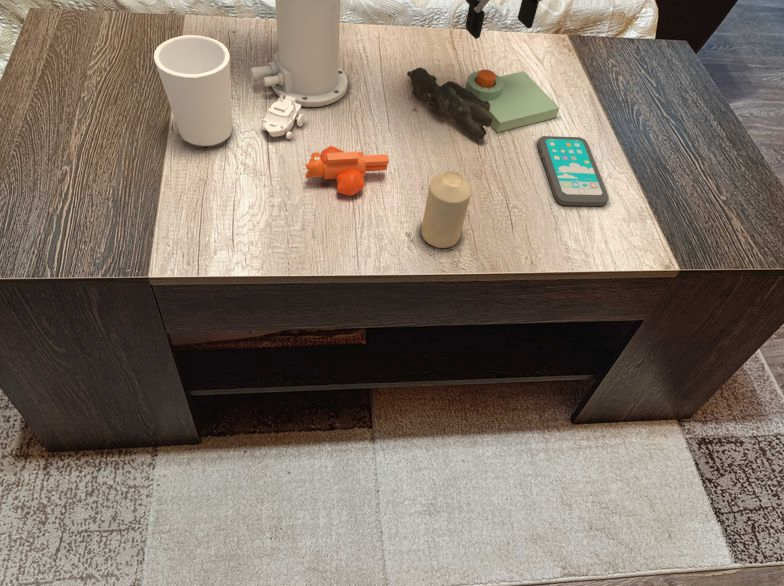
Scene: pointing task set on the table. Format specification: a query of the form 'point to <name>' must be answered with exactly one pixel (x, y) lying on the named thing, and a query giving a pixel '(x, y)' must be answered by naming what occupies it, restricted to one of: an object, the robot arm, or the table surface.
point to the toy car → (283, 117)
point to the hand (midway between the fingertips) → (498, 28)
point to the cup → (197, 87)
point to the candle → (445, 209)
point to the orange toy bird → (345, 167)
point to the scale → (514, 100)
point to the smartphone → (572, 171)
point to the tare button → (486, 78)
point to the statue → (452, 102)
